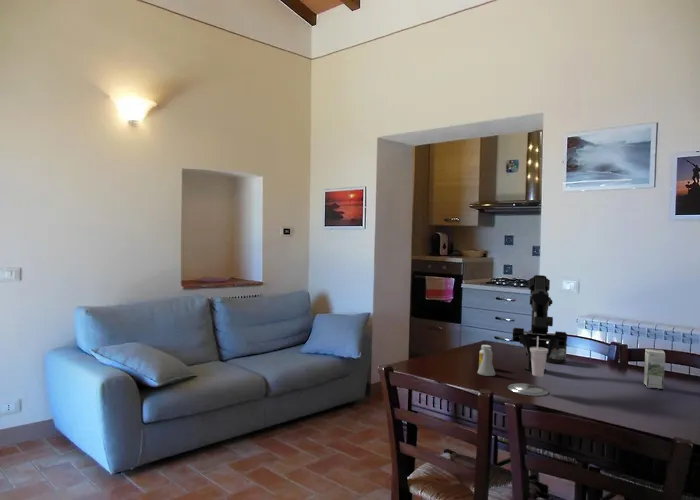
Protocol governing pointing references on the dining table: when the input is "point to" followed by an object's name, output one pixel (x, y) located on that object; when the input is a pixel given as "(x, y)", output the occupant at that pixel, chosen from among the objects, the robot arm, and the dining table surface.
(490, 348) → the supplement bottle
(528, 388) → the grey stepped round plate
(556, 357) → the supplement container
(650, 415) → the dining table surface
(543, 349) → the smoothie
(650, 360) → the syrup box
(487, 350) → the flask
